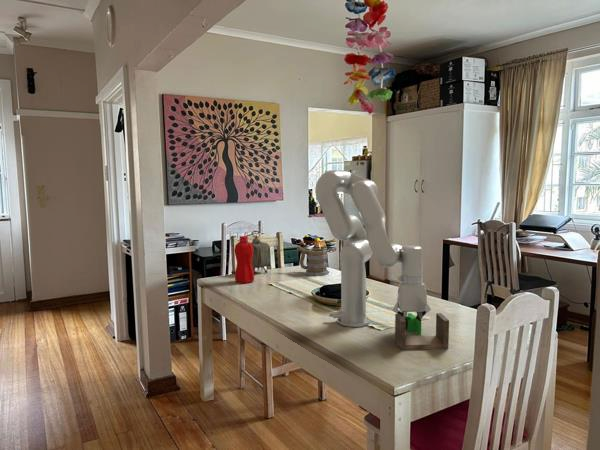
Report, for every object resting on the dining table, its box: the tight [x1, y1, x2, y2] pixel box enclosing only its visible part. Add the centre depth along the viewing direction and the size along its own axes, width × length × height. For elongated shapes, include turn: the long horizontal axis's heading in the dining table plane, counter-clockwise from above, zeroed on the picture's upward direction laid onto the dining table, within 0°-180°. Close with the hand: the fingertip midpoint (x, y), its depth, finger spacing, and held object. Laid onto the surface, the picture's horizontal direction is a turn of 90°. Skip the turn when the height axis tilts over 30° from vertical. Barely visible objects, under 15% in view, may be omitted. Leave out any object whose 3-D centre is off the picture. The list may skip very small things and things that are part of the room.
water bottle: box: [233, 235, 255, 284], centre depth 240 cm, size 9×11×25 cm
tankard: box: [296, 246, 330, 277], centre depth 262 cm, size 20×13×15 cm, turn 58°
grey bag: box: [250, 230, 271, 274], centre depth 264 cm, size 14×9×25 cm, turn 49°
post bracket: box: [394, 312, 450, 350], centre depth 150 cm, size 16×8×10 cm, turn 91°
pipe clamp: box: [406, 312, 422, 336], centre depth 164 cm, size 11×4×5 cm, turn 4°
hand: (411, 327), depth 164 cm, fingers closed on pipe clamp, 3 cm apart
